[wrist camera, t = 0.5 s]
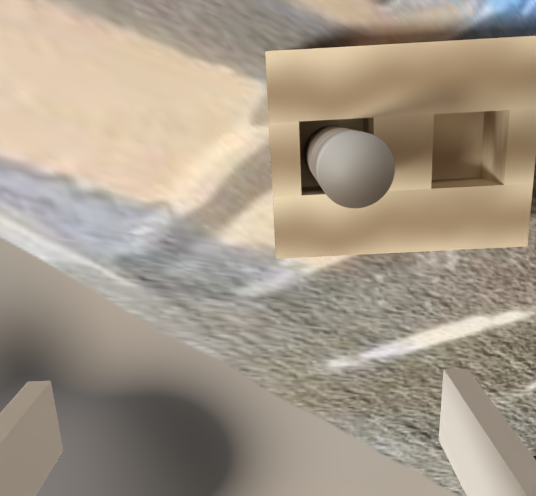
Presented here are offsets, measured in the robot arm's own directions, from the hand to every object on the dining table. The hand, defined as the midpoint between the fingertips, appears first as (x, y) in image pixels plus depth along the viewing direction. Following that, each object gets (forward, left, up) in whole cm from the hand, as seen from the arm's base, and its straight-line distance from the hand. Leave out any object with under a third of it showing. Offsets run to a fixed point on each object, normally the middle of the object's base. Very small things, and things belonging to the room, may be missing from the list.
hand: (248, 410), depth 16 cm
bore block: (-6, +10, -26) cm, 28 cm away
